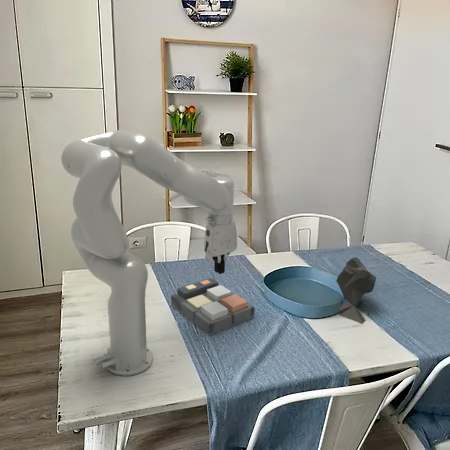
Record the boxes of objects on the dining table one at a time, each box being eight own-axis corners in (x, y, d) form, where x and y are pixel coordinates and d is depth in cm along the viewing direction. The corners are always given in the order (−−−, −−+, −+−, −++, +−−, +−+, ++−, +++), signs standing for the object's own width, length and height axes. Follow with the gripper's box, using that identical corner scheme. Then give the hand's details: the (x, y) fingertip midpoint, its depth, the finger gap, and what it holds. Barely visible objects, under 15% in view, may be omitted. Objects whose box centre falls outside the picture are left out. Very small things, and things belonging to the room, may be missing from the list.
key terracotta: (232, 315, 138) (232, 307, 137) (220, 307, 142) (221, 299, 141) (246, 309, 141) (247, 301, 140) (235, 302, 146) (235, 294, 145)
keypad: (209, 336, 132) (209, 316, 130) (171, 305, 148) (171, 288, 146) (253, 317, 142) (254, 299, 140) (213, 291, 159) (214, 274, 156)
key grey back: (217, 304, 144) (217, 296, 143) (206, 297, 148) (206, 289, 147) (231, 299, 147) (231, 291, 146) (220, 292, 152) (220, 285, 151)
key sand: (197, 315, 139) (197, 307, 138) (186, 307, 144) (186, 299, 143) (212, 309, 143) (212, 301, 142) (201, 302, 147) (201, 294, 146)
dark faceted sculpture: (380, 306, 152) (388, 259, 146) (362, 323, 141) (370, 273, 135) (342, 292, 161) (348, 247, 155) (322, 308, 149) (328, 260, 143)
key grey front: (212, 323, 133) (212, 314, 132) (200, 314, 137) (201, 306, 136) (227, 317, 137) (227, 308, 136) (216, 309, 141) (216, 301, 140)
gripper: (208, 226, 125) (208, 283, 131) (247, 216, 134) (244, 270, 140) (193, 219, 130) (193, 274, 137) (231, 210, 139) (229, 262, 146)
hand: (219, 271), depth 138 cm, fingers closed
